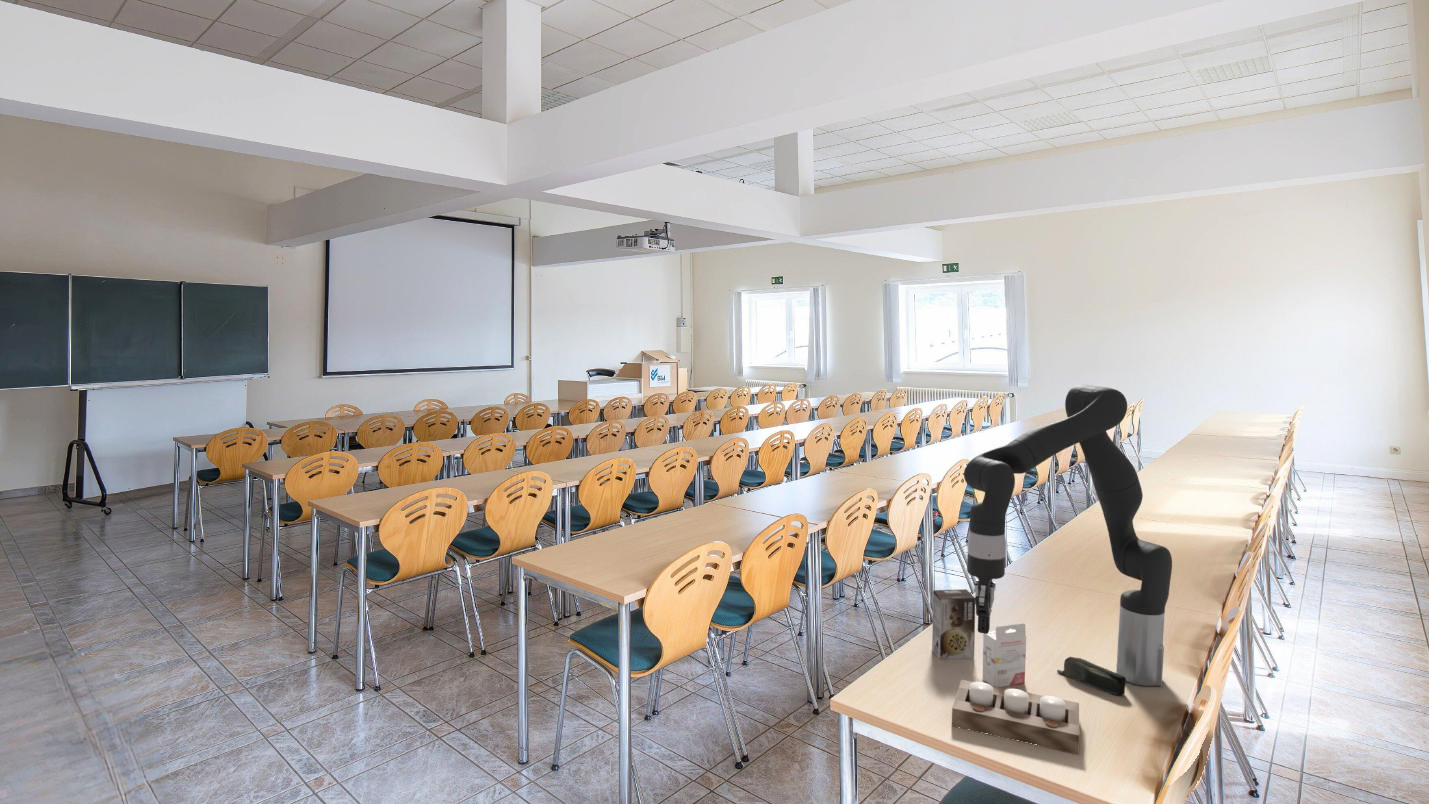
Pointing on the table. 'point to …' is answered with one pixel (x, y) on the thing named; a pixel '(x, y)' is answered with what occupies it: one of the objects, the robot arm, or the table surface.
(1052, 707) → the button inner
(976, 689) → the button outer
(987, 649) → the ink cartridge box
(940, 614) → the coffee box
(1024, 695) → the button middle
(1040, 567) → the table surface
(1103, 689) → the dark green stapler
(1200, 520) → the table surface
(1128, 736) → the table surface
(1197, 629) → the table surface
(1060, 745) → the button board
